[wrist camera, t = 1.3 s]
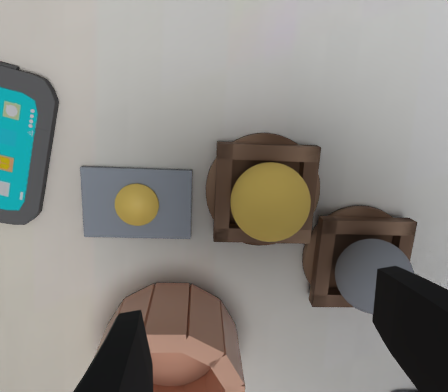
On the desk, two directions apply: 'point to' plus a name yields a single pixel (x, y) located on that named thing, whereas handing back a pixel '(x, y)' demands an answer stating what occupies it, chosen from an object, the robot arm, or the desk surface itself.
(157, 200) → the card
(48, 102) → the smartphone
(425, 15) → the desk surface
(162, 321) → the pink faceted bowl
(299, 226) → the mustard ball
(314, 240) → the brown cradle
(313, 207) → the round-based square frame stand
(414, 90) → the desk surface
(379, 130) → the desk surface
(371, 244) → the grey ball
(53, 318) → the desk surface
